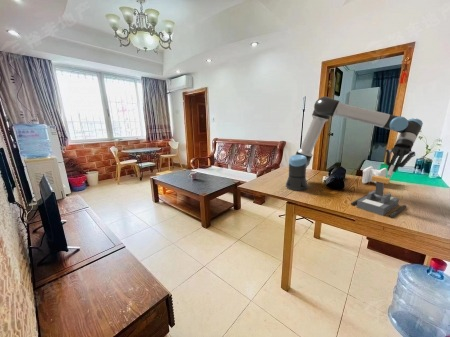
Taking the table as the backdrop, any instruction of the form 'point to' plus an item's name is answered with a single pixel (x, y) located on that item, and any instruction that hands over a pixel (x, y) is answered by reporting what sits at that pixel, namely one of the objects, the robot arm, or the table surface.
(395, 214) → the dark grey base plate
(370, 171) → the cable organizer
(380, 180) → the lever
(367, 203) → the breaker block
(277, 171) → the table surface
